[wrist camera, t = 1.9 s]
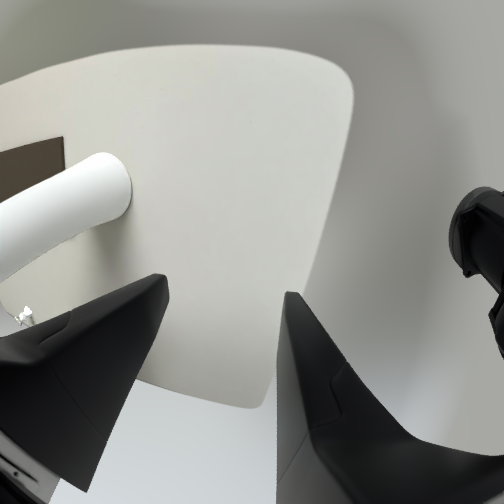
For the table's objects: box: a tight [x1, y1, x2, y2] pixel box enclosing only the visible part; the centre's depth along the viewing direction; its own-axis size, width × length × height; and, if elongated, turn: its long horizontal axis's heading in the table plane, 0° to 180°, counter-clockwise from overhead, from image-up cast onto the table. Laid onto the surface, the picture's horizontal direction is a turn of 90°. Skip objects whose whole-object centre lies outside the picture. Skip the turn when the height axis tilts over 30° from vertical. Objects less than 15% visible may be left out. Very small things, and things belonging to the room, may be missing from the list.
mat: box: [0, 137, 65, 203], centre depth 22 cm, size 16×10×1 cm, turn 87°
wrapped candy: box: [15, 307, 32, 327], centre depth 30 cm, size 2×2×3 cm
